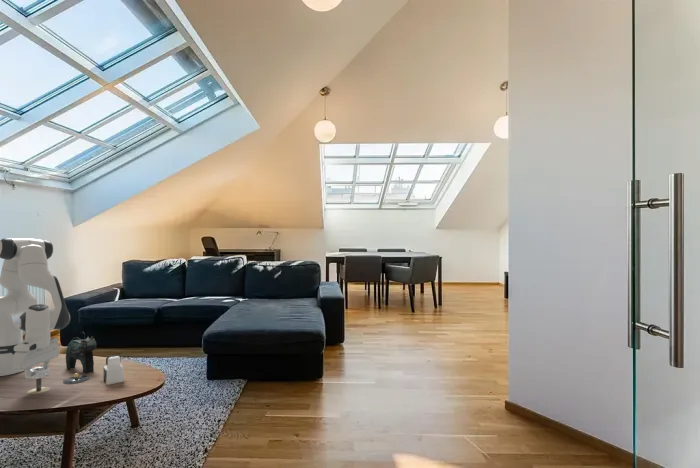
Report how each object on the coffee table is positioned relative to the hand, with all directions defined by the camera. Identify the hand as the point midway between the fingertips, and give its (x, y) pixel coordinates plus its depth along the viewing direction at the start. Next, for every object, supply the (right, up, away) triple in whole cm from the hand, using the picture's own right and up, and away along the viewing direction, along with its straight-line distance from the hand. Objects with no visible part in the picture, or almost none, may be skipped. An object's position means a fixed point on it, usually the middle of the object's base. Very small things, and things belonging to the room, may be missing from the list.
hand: (37, 373), depth 176 cm
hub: (+9, -8, +12) cm, 17 cm away
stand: (+1, -8, 0) cm, 8 cm away
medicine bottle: (+26, -9, +13) cm, 30 cm away
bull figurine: (-1, -9, +29) cm, 30 cm away
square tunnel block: (0, -1, 0) cm, 1 cm away
